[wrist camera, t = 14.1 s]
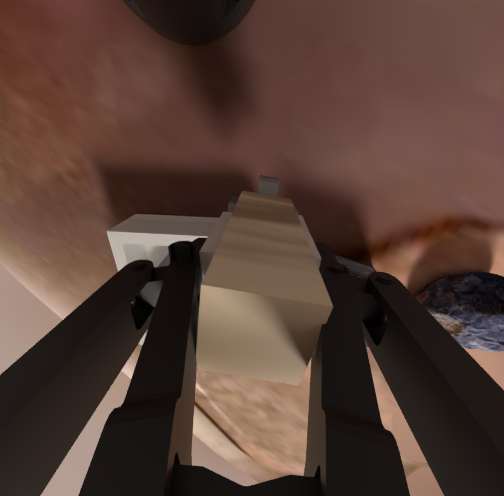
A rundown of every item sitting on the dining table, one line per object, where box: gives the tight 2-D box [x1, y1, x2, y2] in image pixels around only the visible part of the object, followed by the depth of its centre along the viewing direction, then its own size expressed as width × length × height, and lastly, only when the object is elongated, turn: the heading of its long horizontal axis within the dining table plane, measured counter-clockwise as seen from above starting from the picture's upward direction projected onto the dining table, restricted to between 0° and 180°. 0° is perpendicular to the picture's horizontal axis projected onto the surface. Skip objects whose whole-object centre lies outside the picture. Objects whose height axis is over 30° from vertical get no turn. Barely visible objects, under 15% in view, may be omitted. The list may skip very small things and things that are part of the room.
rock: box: [415, 272, 504, 352], centre depth 31 cm, size 11×10×10 cm
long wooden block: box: [196, 175, 333, 386], centre depth 14 cm, size 6×6×15 cm
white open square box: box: [107, 214, 219, 345], centre depth 32 cm, size 19×19×7 cm
